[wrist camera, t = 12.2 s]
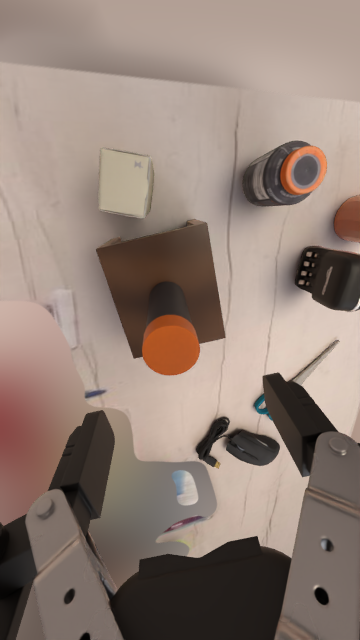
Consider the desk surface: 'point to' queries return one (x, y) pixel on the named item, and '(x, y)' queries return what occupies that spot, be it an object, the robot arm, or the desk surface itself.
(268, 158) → the pill bottle
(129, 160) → the box
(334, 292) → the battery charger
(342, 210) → the pen cup
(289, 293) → the desk surface
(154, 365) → the cylinder
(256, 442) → the computer mouse
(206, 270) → the shelf
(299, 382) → the scissors
